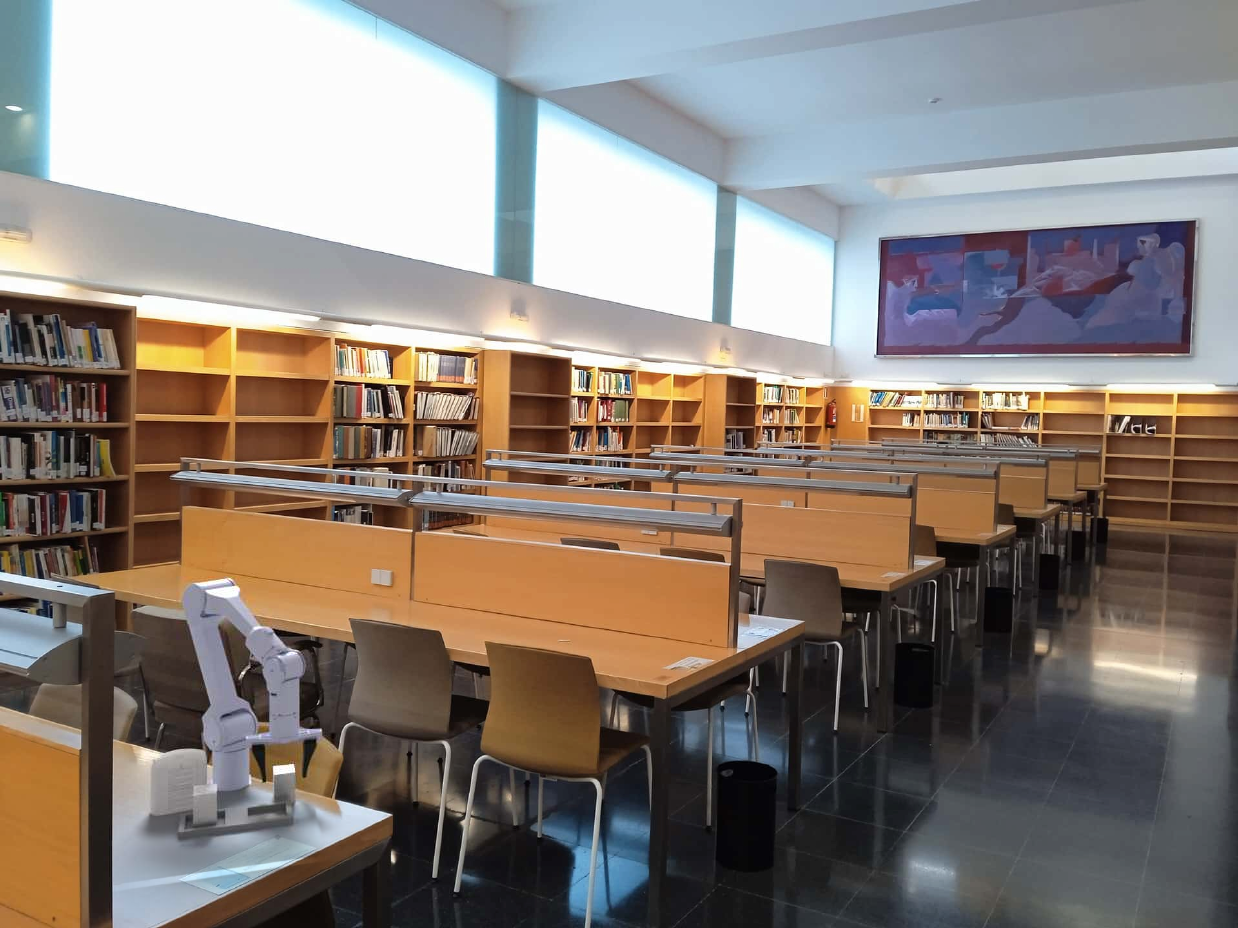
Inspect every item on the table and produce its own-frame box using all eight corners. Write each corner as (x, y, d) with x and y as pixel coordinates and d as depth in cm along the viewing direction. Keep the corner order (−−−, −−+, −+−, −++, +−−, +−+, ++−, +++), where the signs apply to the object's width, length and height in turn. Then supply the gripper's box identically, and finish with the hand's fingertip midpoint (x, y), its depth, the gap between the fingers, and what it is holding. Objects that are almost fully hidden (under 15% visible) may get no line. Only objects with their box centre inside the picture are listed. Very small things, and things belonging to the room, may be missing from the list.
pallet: (180, 824, 186) (180, 813, 186) (290, 810, 193) (290, 800, 193) (177, 842, 177) (177, 832, 177) (293, 827, 185) (293, 817, 185)
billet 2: (273, 799, 198) (273, 766, 198) (293, 797, 200) (293, 763, 200) (274, 808, 194) (274, 774, 194) (295, 806, 195) (295, 772, 195)
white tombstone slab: (204, 803, 196) (204, 742, 196) (209, 810, 193) (209, 748, 192) (148, 813, 190) (148, 751, 190) (152, 821, 187) (152, 757, 186)
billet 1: (194, 822, 185) (194, 785, 184) (216, 819, 186) (216, 783, 186) (193, 832, 180) (193, 795, 180) (216, 829, 182) (216, 792, 181)
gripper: (246, 721, 190) (246, 789, 190) (323, 714, 195) (323, 780, 196) (245, 711, 196) (245, 777, 197) (320, 704, 202) (320, 769, 202)
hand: (284, 778), depth 197 cm, fingers open, 7 cm apart
